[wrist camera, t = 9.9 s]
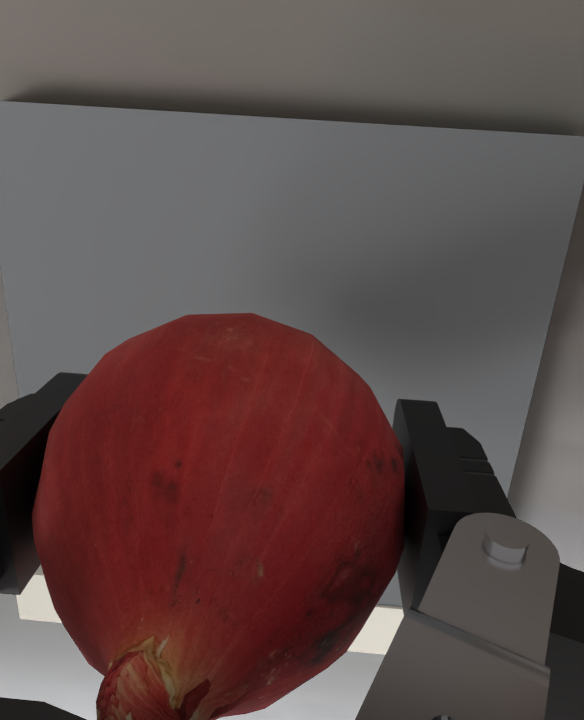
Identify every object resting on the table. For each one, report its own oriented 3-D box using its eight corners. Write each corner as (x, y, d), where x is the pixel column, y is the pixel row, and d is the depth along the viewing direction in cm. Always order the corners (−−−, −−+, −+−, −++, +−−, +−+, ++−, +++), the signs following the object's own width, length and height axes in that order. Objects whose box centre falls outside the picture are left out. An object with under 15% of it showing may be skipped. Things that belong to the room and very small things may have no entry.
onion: (428, 327, 12) (592, 648, 4) (327, 529, 14) (324, 972, 7) (168, 227, 11) (-131, 401, 4) (104, 452, 14) (-166, 835, 6)
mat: (490, 637, 19) (499, 665, 18) (35, 594, 20) (19, 618, 19) (619, 139, 13) (643, 140, 12) (-39, 99, 14) (-69, 96, 13)
